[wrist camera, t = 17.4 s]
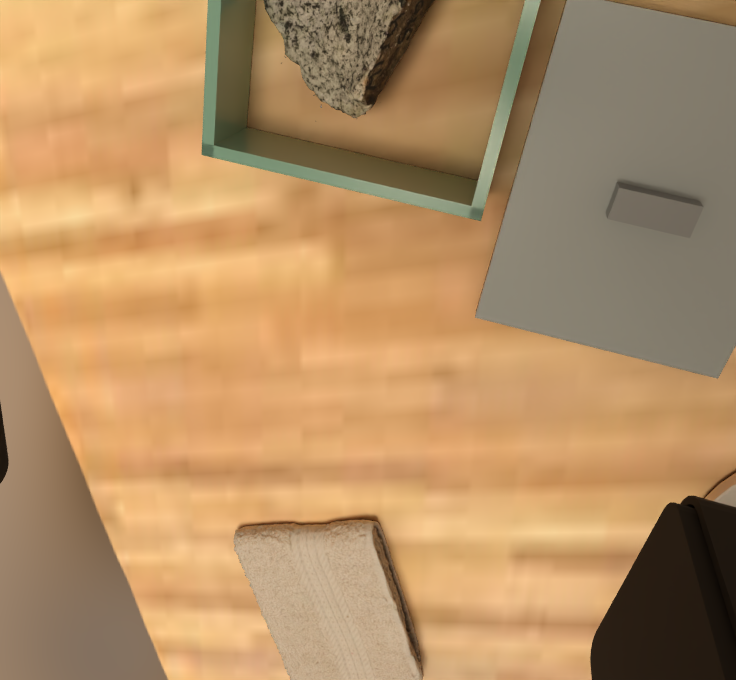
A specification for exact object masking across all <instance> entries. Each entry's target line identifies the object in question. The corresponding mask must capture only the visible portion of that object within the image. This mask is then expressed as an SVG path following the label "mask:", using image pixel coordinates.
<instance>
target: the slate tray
mask: <svg viewBox="0 0 736 680" xmlns="http://www.w3.org/2000/svg"><path fill="white" fill-rule="evenodd" d="M475 318H479V319H483V320H487V321H491V322H495V323H499V324H503V325H507V326H511V327H515V328H519V329H523V330H527V331H531V332H535V333H539V334H543V335H547V336H551V337H554V338H558V339H562V340H566V341H570V342H574V343H578V344H582V345H586V346H590V347H594V348H598V349H602V350H606V351H610V352H614V353H618V354H622V355H626V356H630V357H634V358H638V359H642V360H646V361H650V362H654V363H658V364H662V365H666V366H670V367H674V368H678V369H682V370H686V371H690V372H694V373H698V374H702V375H705V376H709V377H713V378H717V379H718V378H719V376H720V374H721V372H722V370H723V368H724V366H725V364H726V363H727V361H728V359H729V357H730V355H731V353H732V351H733V349H734V348H735V346H736V26H731V25H726V24H721V23H716V22H711V21H706V20H701V19H696V18H691V17H686V16H681V15H676V14H671V13H666V12H662V11H657V10H652V9H647V8H642V7H637V6H632V5H627V4H622V3H617V2H612V1H607V0H566V2H565V6H564V9H563V13H562V16H561V19H560V23H559V26H558V30H557V33H556V37H555V40H554V44H553V47H552V51H551V54H550V57H549V61H548V64H547V68H546V71H545V75H544V78H543V82H542V85H541V89H540V92H539V95H538V99H537V102H536V106H535V109H534V113H533V116H532V120H531V123H530V127H529V130H528V134H527V137H526V140H525V144H524V147H523V151H522V154H521V158H520V161H519V165H518V168H517V172H516V175H515V178H514V182H513V185H512V189H511V192H510V196H509V199H508V203H507V206H506V210H505V213H504V216H503V220H502V223H501V227H500V230H499V234H498V237H497V241H496V244H495V248H494V251H493V254H492V258H491V261H490V265H489V268H488V272H487V275H486V279H485V282H484V286H483V289H482V292H481V296H480V299H479V303H478V306H477V310H476V315H475Z"/></svg>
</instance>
